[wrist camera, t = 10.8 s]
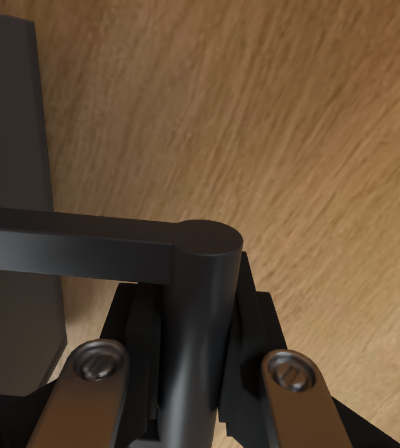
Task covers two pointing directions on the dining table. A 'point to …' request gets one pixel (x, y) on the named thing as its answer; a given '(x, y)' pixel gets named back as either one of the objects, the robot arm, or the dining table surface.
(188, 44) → the dining table surface
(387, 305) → the dining table surface
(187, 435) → the grey tool caddy
